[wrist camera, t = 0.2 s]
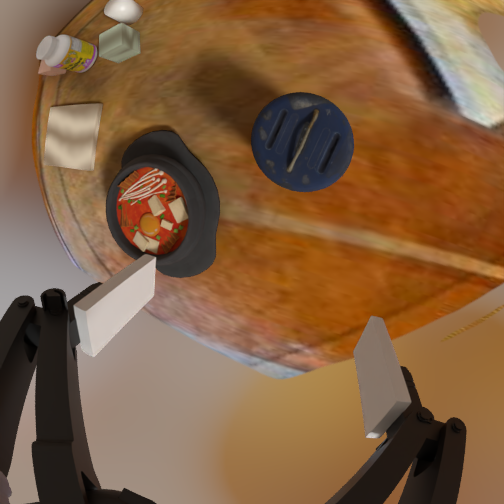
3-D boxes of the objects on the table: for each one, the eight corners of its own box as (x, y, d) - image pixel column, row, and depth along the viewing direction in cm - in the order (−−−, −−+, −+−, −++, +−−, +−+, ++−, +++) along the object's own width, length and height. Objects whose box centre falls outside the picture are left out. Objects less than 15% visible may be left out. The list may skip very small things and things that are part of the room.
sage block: (118, 42, 36) (99, 34, 30) (139, 32, 35) (121, 22, 29) (118, 63, 37) (98, 56, 32) (140, 53, 36) (121, 44, 31)
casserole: (110, 155, 43) (79, 158, 36) (199, 114, 39) (176, 106, 31) (151, 280, 50) (128, 301, 42) (243, 262, 46) (230, 284, 38)
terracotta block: (58, 56, 38) (43, 53, 33) (71, 52, 37) (56, 49, 32) (53, 76, 39) (37, 73, 35) (65, 73, 39) (50, 70, 34)
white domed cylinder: (126, 7, 33) (109, -3, 27) (146, 3, 32) (129, -9, 26) (118, 26, 34) (100, 17, 29) (138, 23, 34) (121, 12, 28)
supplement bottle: (76, 78, 39) (31, 70, 27) (76, 53, 37) (34, 42, 25) (99, 64, 38) (53, 52, 26) (99, 39, 36) (56, 24, 24)
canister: (256, 152, 39) (222, 149, 23) (296, 104, 36) (290, 65, 19) (307, 193, 40) (310, 219, 23) (347, 145, 36) (380, 136, 20)
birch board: (54, 107, 42) (50, 107, 41) (103, 104, 40) (99, 103, 39) (47, 164, 46) (43, 164, 45) (93, 170, 45) (89, 170, 44)
